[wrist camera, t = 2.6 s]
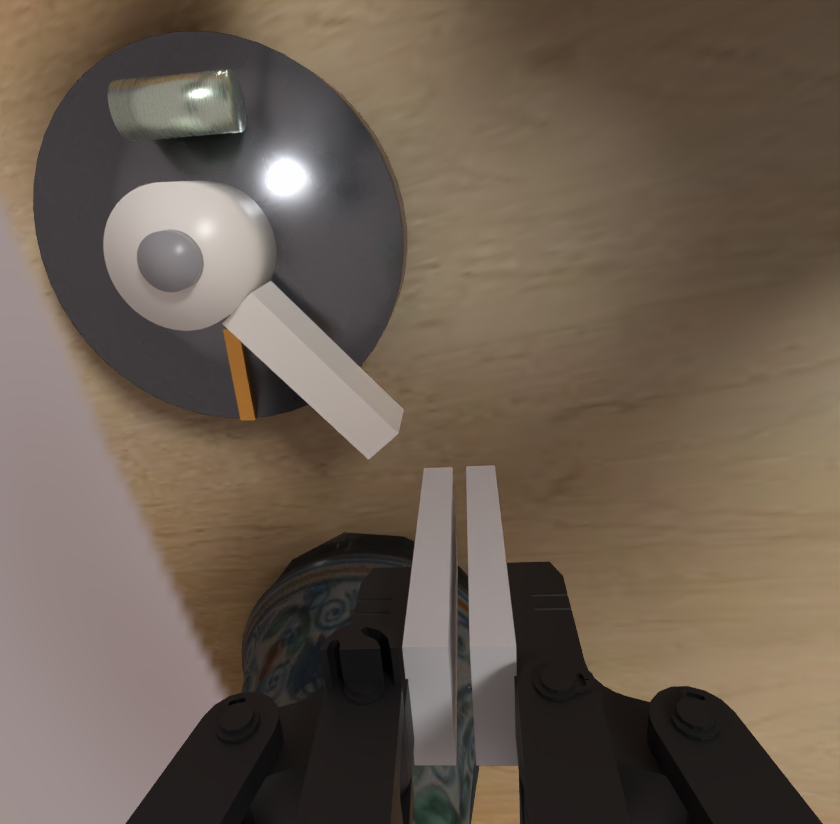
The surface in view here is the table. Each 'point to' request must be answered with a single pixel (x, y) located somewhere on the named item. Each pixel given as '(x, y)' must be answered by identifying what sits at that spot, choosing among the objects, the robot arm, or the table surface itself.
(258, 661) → the beer stein
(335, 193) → the base
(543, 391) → the table surface
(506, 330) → the table surface
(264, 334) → the knob
